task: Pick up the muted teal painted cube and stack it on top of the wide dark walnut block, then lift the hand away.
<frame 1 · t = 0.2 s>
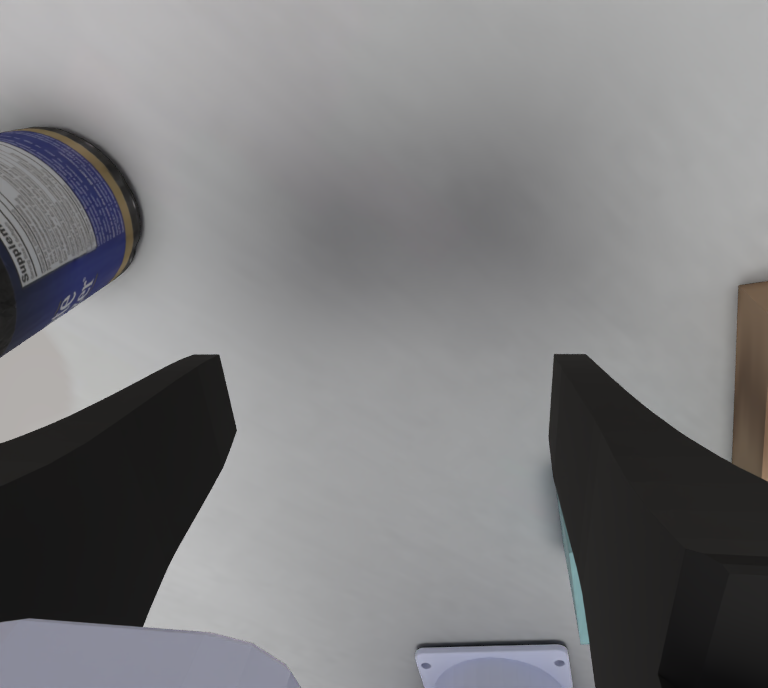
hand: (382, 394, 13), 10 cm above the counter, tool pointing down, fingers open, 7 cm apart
pill bottle: (72, 206, 22), on the counter
teal cube: (617, 500, 25), on the counter
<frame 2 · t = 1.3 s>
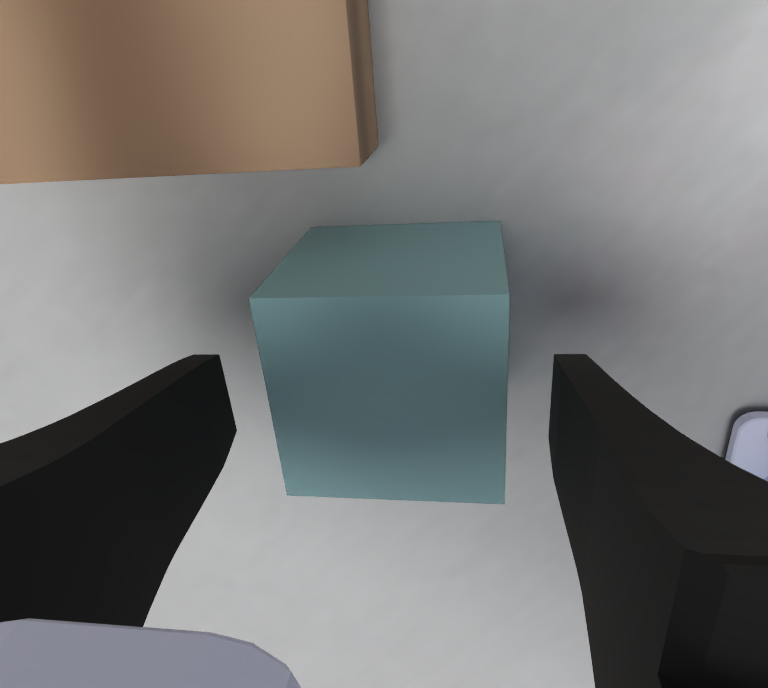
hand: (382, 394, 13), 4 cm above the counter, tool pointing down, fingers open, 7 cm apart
teal cube: (408, 309, 17), on the counter
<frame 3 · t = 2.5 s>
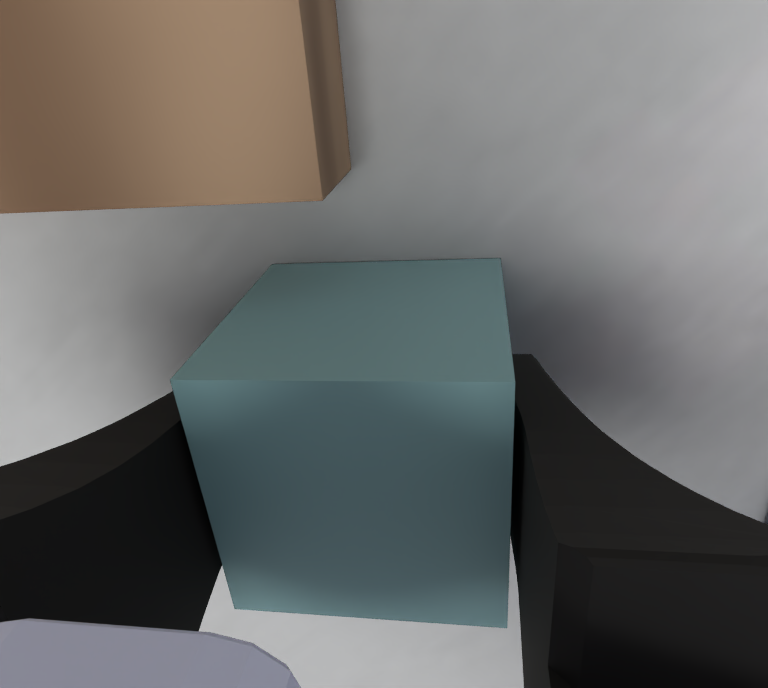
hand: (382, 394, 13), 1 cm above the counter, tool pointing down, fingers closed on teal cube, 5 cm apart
teal cube: (390, 361, 14), on the counter, touching gripper
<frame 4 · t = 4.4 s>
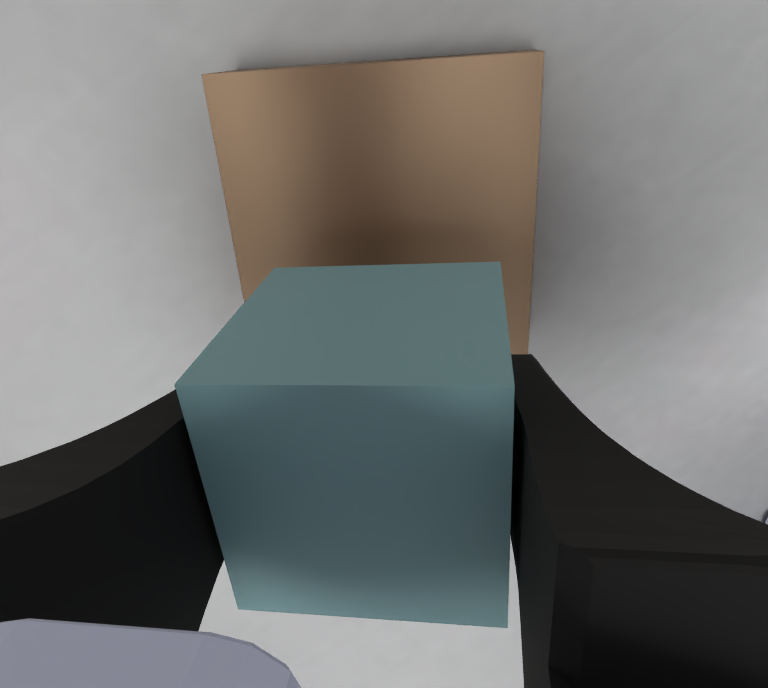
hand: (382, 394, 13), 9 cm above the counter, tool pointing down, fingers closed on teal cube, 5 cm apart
teal cube: (392, 364, 14), point 7 cm above the counter, touching gripper
walnut block: (390, 207, 20), on the counter
when the fingers open (5 cm above the counter, at t = 6.2 s): teal cube drops 1 cm, resting on walnut block.
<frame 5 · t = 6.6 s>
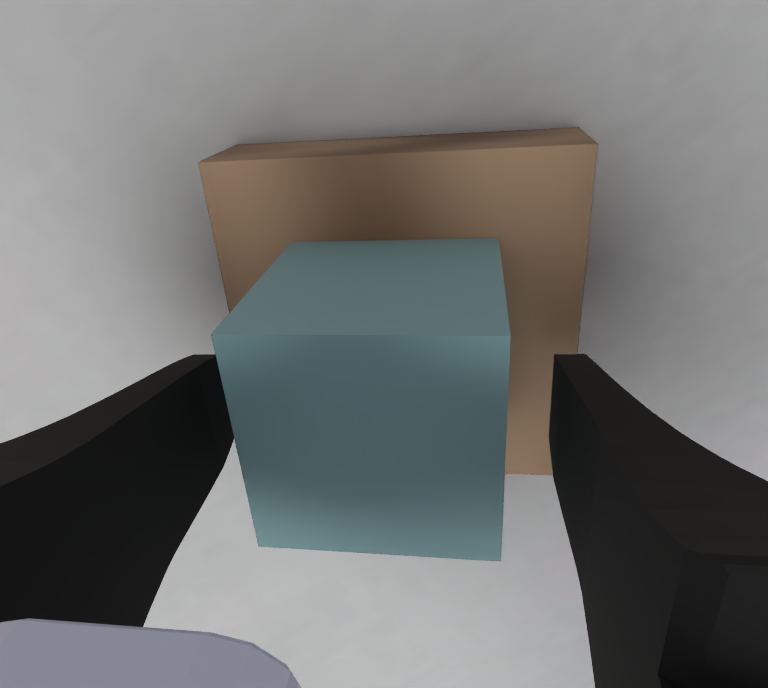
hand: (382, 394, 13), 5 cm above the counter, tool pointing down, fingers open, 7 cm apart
teal cube: (397, 333, 15), point 2 cm above the counter, touching walnut block
walnut block: (409, 289, 18), on the counter, touching teal cube
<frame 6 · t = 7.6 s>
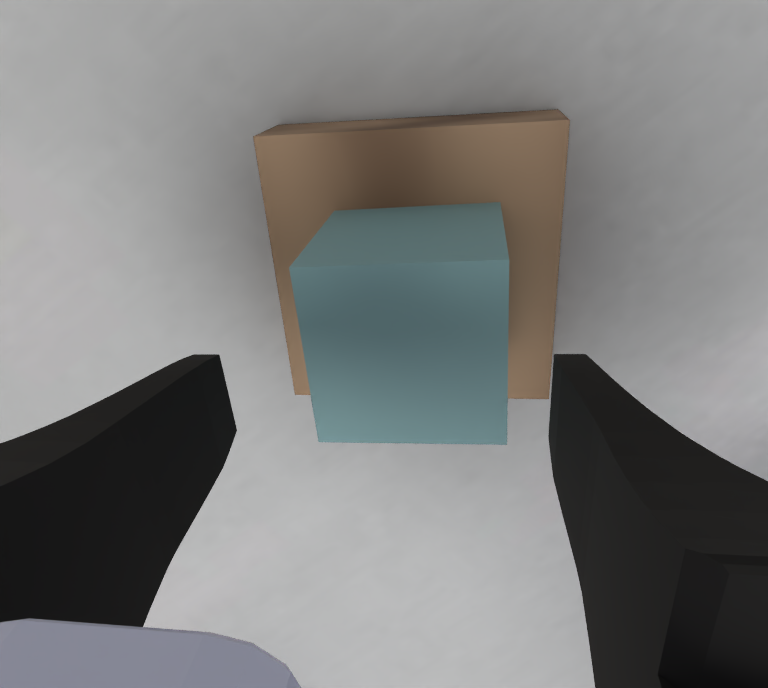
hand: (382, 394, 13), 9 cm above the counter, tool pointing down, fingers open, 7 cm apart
teal cube: (420, 284, 19), point 2 cm above the counter
walnut block: (419, 247, 21), on the counter
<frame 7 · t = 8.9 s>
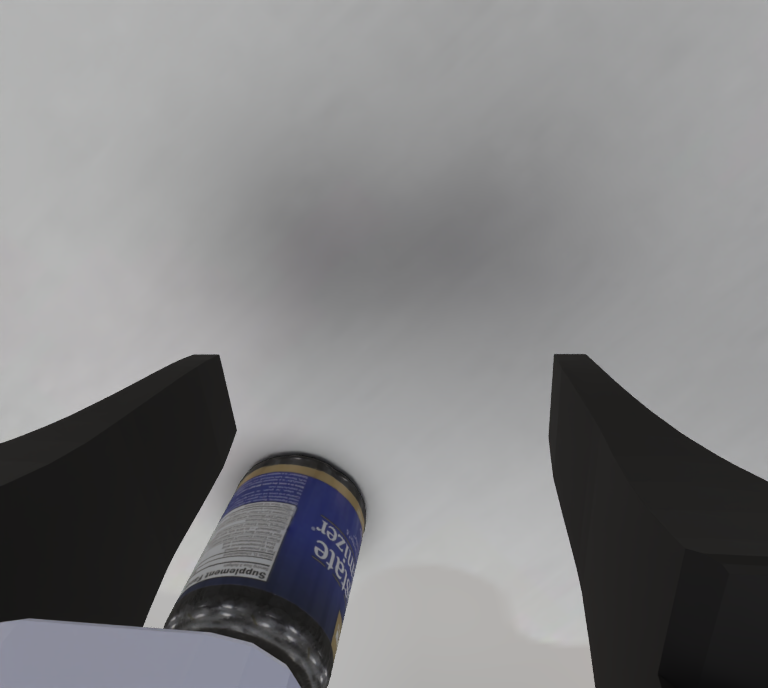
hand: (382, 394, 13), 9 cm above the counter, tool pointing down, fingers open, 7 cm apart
pill bottle: (304, 499, 27), on the counter
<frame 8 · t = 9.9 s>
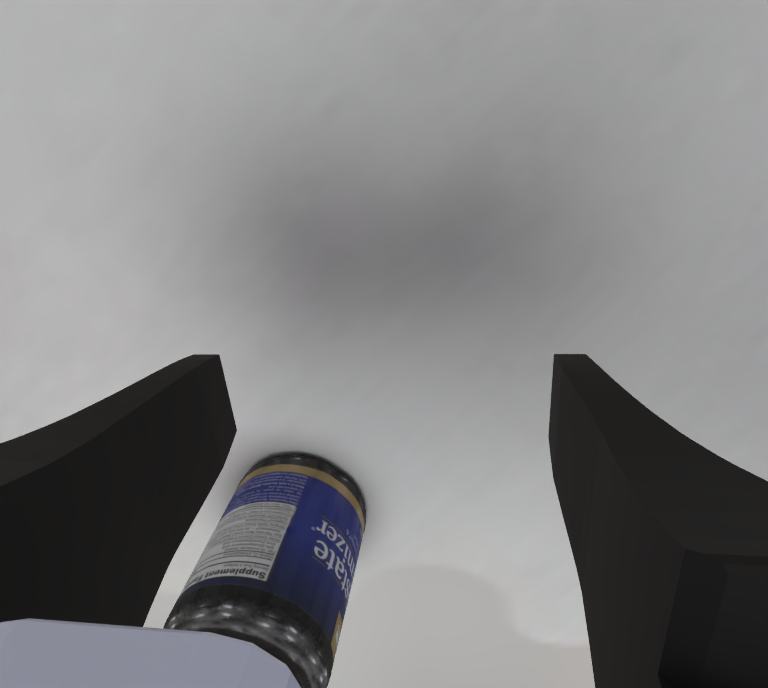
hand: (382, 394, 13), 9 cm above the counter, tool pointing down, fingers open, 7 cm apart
pill bottle: (304, 499, 27), on the counter
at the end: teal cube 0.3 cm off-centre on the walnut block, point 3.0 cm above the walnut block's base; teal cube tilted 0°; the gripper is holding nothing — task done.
